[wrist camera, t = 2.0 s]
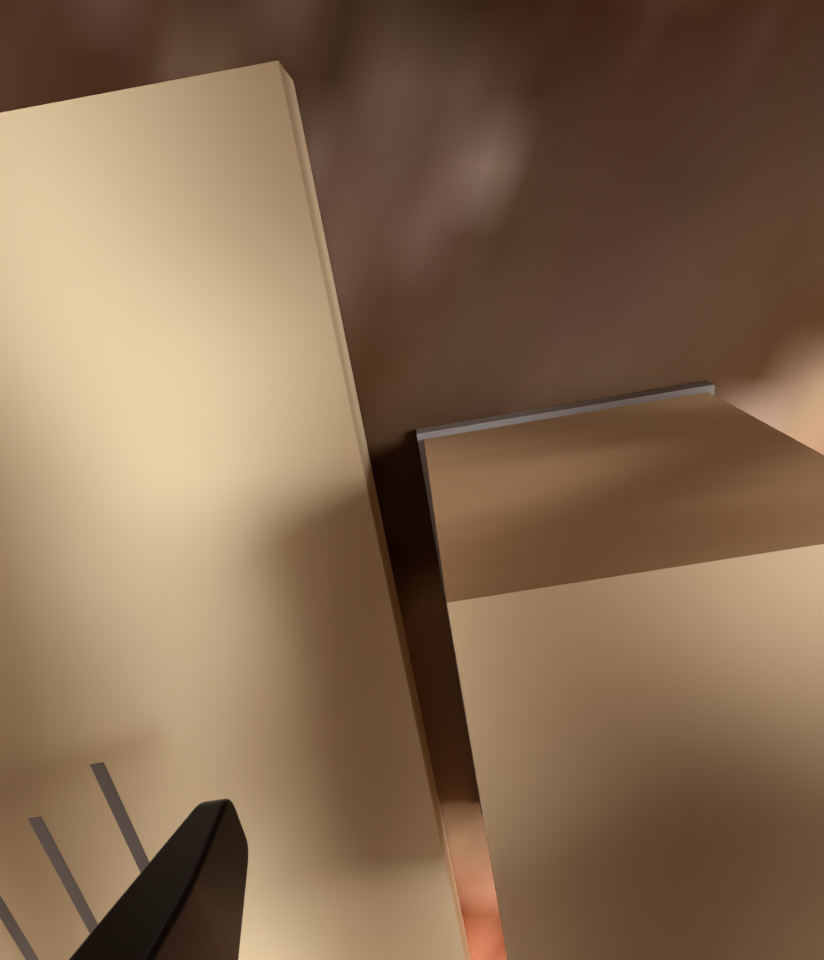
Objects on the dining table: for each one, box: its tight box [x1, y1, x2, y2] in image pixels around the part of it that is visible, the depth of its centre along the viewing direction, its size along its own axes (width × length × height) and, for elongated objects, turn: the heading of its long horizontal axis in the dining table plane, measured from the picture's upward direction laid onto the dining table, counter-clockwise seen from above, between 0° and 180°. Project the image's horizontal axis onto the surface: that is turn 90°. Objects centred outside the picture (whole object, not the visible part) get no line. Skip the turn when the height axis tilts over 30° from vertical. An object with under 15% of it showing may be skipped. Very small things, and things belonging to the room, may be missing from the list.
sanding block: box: [416, 381, 824, 960], centre depth 9 cm, size 5×8×5 cm, turn 9°
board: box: [0, 61, 471, 960], centre depth 13 cm, size 14×24×1 cm, turn 9°
